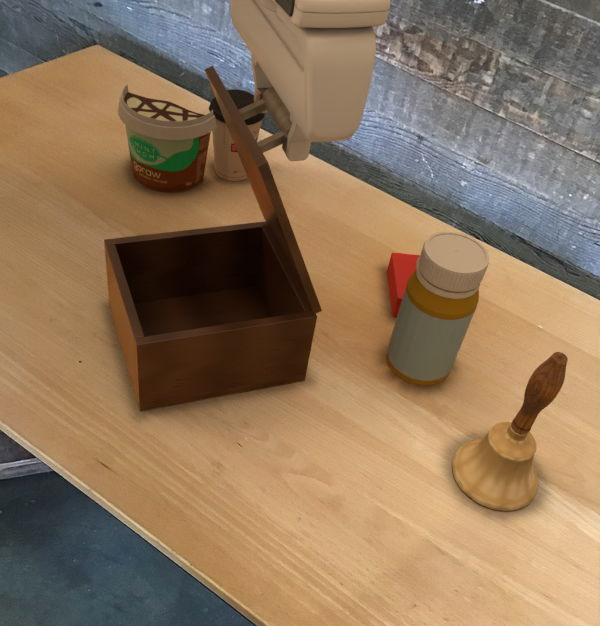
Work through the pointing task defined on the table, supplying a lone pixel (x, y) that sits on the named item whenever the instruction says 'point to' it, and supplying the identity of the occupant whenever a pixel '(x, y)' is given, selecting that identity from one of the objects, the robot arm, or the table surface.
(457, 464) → the hand bell
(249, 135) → the lid
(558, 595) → the table surface
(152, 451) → the table surface
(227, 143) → the coffee cup
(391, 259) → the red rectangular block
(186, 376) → the chest
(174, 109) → the food container
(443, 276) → the bottle
